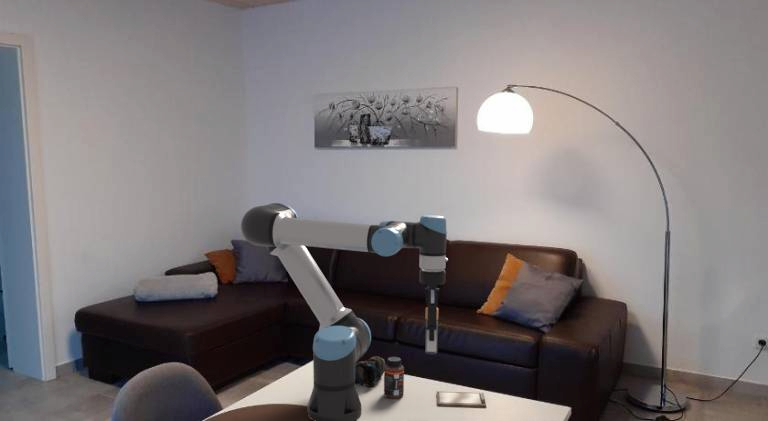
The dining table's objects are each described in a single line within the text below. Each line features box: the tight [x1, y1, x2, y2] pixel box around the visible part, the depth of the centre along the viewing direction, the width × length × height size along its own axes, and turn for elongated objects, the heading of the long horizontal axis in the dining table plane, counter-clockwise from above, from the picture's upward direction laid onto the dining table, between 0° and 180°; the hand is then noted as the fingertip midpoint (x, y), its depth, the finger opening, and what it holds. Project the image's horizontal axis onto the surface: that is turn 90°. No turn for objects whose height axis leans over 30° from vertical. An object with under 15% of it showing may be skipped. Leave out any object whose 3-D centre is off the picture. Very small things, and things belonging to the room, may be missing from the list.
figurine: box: [355, 356, 386, 388], centre depth 186 cm, size 9×8×15 cm
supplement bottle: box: [383, 356, 405, 399], centre depth 174 cm, size 6×6×11 cm
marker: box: [424, 307, 439, 355], centre depth 167 cm, size 4×4×13 cm
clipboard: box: [436, 391, 487, 408], centre depth 171 cm, size 14×9×2 cm, turn 86°
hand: (431, 348), depth 167 cm, fingers closed on marker, 3 cm apart
